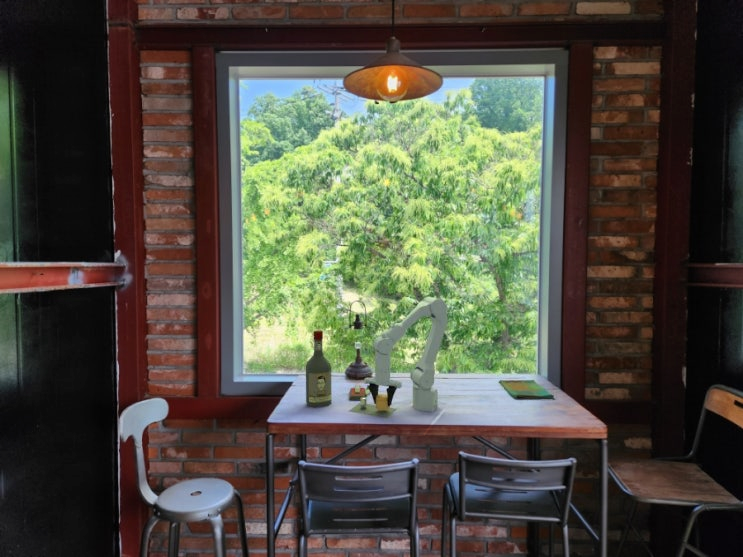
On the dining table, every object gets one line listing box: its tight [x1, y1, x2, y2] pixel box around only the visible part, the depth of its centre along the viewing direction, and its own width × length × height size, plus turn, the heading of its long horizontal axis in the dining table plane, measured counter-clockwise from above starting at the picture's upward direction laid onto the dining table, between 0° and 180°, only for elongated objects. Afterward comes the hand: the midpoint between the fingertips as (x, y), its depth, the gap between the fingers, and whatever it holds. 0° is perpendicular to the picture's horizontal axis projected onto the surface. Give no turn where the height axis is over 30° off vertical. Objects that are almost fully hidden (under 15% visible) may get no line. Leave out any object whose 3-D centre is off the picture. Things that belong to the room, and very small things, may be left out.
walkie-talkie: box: [348, 384, 371, 401], centre depth 185 cm, size 9×4×20 cm
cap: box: [375, 393, 391, 411], centre depth 164 cm, size 5×5×4 cm
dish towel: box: [498, 379, 555, 400], centre depth 192 cm, size 17×23×2 cm
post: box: [359, 397, 368, 410], centre depth 167 cm, size 2×2×4 cm
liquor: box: [305, 330, 333, 409], centre depth 172 cm, size 9×9×30 cm
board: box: [348, 402, 398, 419], centre depth 166 cm, size 16×10×1 cm, turn 65°
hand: (382, 404), depth 164 cm, fingers closed on cap, 5 cm apart
